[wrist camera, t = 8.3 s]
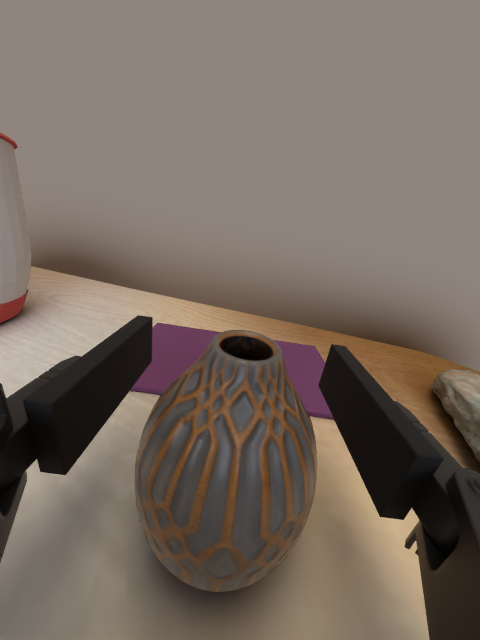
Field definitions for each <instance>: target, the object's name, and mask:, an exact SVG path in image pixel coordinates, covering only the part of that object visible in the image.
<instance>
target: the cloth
mask: <svg viewBox="0 0 480 640" xmlns="http://www.w3.org/2000/svg"><path fill="white" fill-rule="evenodd" d="M219 333H221V332H216V331H209V330H202V329H196V328H189V327H182V326H175V325H169V324H162V323H157V324H156V325H155V326H154V327H153V328H152V362H151V363H150V365H149V366H148V367H147V369H146V370H145V371H144V372H143V374H142V375H141V376H140V378H139V379H138V380H137V382H136V383H135V384H134V386H133V387H132V388H131V390H133V391H140V392H147V393H154V394H162V393H163V392H164V391H165V389H166V388H167V387H168V386H169V385H170V384H171V383H172V382H173V381H174V380H175V379H176V378H177V377H178V376H179V375H180V374H182V373H183V372H184V371H185V370H186V369H187V368H188V367H190V366H191V365H192V364H193V363H194V362H196V361H197V360H198V359H199V358H200V356H201V355H202V354H203V353H204V351H205V349H206V348H207V346H208V344H209V343H210V341H211V340H212V338H213V337H214V336H216V335H217V334H219ZM273 341H275V342H276V343H277V344H278V345H279V346H280V348H281V350H282V352H283V357H284V362H285V366H286V370H287V373H288V376H289V378H290V380H291V382H292V383H293V385H294V387H295V389H296V390H297V392H298V394H299V396H300V398H301V400H302V402H303V403H304V405H305V408H306V410H307V412H308V414H309V416H316V417H323V418H330V419H334V418H333V416H332V414H331V412H330V409H329V407H328V405H327V403H326V401H325V399H324V397H323V395H322V392H321V390H320V388H319V386H318V384H319V381H320V378H321V375H322V372H323V369H324V366H325V362H324V361H323V359H322V357H321V356H320V354H319V352H318V351H317V349H316V348H315V346H309V345H303V344H296V343H289V342H283V341H276V340H273Z"/></svg>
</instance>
